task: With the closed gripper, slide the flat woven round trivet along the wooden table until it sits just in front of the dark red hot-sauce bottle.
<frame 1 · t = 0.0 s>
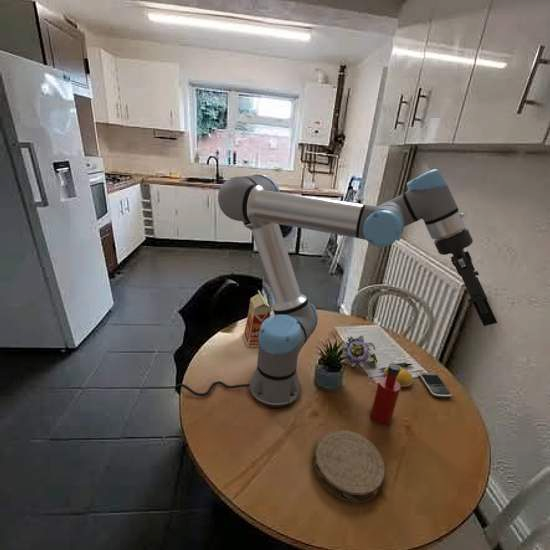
hand: (485, 311, 75), 36 cm above the table, tool tilted 35°, fingers open, 13 cm apart
cell phone: (433, 386, 102), on the table
milk carton: (257, 340, 119), on the table
yellow rounded piece: (397, 379, 104), on the table
hot sauce bottle: (380, 416, 89), on the table
woven round trivet: (347, 467, 74), on the table
passion flower: (357, 361, 112), on the table
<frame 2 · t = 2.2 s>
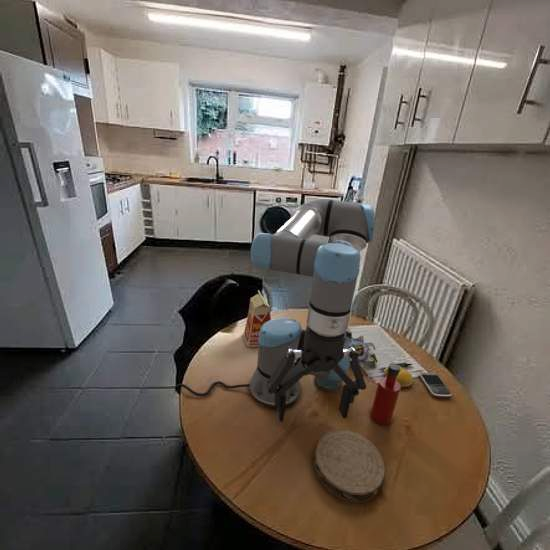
hand: (312, 415, 65), 17 cm above the table, tool pointing down, fingers open, 13 cm apart
nothing on the table moved.
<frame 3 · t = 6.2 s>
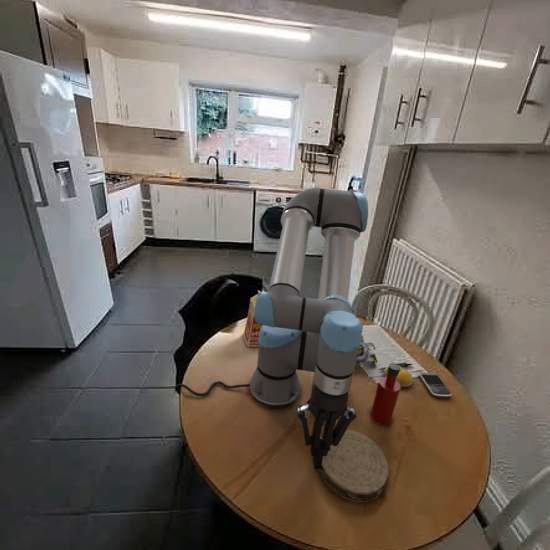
hand: (316, 463, 72), 1 cm above the table, tool pointing down, fingers closed
woven round trivet: (350, 467, 74), on the table, touching gripper
everything else where it was.
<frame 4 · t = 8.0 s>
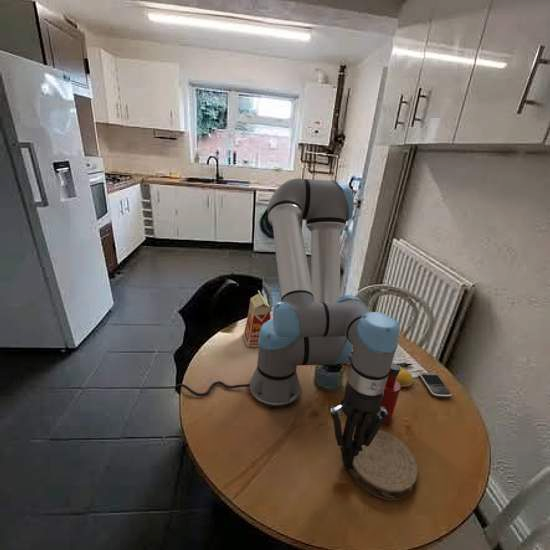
hand: (346, 463, 73), 2 cm above the table, tool pointing down, fingers closed
woven round trivet: (379, 465, 75), on the table, touching gripper
everything else where it was.
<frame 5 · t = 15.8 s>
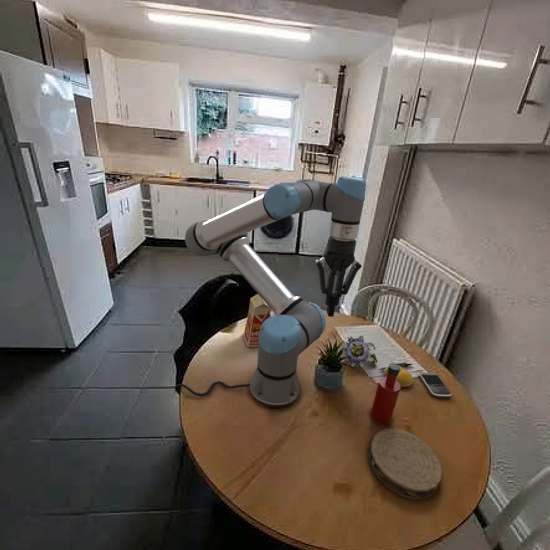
hand: (329, 314, 92), 24 cm above the table, tool pointing down, fingers closed
woven round trivet: (402, 465, 75), on the table
everything else where it was.
at the end: woven round trivet inside the target area on the table beside the hot sauce bottle (0.5 cm from its centre), on the table; woven round trivet moved 13.9 cm from its start; hot sauce bottle tilted 0° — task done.
